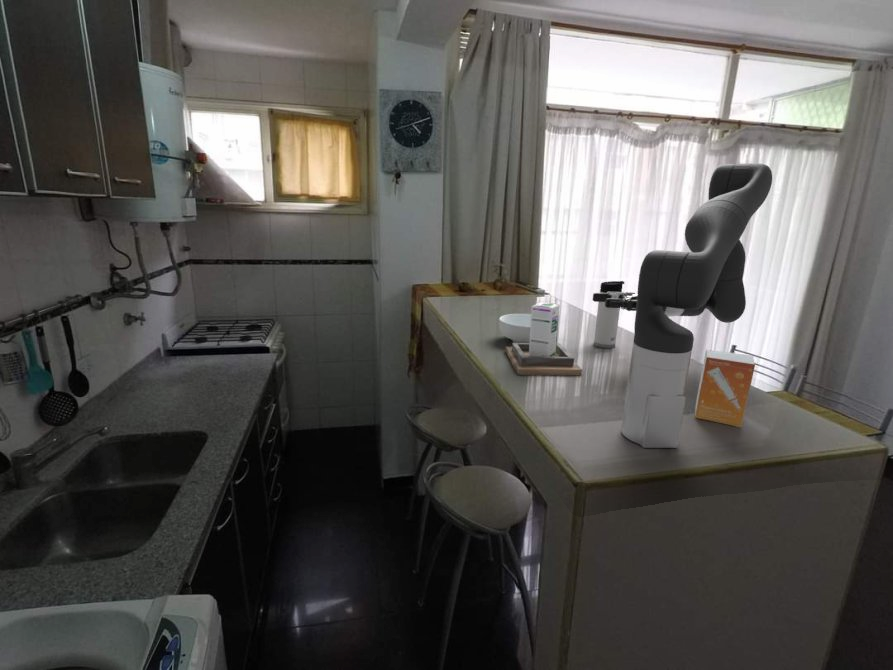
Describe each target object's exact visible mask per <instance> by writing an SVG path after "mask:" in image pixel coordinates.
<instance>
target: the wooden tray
mask: <svg viewBox="0 0 893 670" xmlns="http://www.w3.org/2000/svg"><path fill="white" fill-rule="evenodd" d="M511 344H512V345H511V346H505V353H506V355H507V356H508V359H509V361H510V363H511V365H512V366H513V368H514V370H515V372H516V374H517V375H518V376H520V375H521V376H523V375H524V376H527V375H529V376H534V375H535V376H582V372H583V369H582V368H581V366H579V364H577V362H575V358H574V356H573V355H572V354H571V353H570V352H569V351H568V350H567V349H566V348H565V347H564V346H563V345H562V344H561V343H558V342H557V348H556V356H555V357H535V356H529V343H516V342H512V343H511Z"/></svg>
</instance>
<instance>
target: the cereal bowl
mask: <svg viewBox="0 0 893 670" xmlns="http://www.w3.org/2000/svg"><path fill="white" fill-rule="evenodd" d="M530 325H531V313H509V314H505V315H501V316H500V317H499V318H498V327H499V330H500V332H501V334H502V335H503V336H504V337H505V338H507V339H509V340H511V341H512V342H513V343H530Z"/></svg>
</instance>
